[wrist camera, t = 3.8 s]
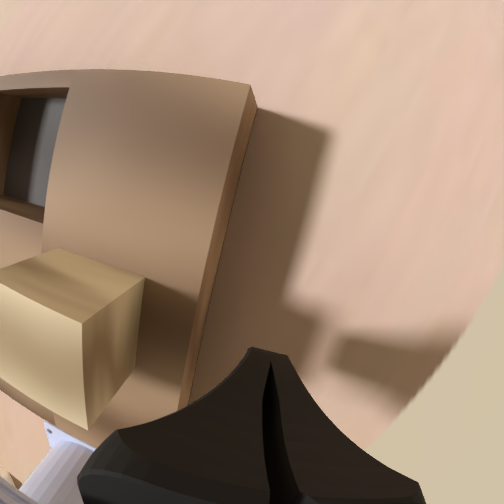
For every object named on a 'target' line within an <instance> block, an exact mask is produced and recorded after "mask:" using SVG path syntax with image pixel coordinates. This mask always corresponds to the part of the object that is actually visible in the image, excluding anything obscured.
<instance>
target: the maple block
mask: <svg viewBox="0 0 504 504" xmlns="http://www.w3.org/2000/svg"><path fill="white" fill-rule="evenodd" d="M144 282H145V277H143V276H140V275H136V274H133V273H130V272H127V271H124V270H121V269H118V268H115V267H112V266H109V265H106V264H103V263H100V262H97V261H94V260H91V259H89V258H86V257H83V256H80V255H77V254H74V253H72V252H69V251H66V250H63V249H60V248H57V249H54V250H51V251H48V252H45V253H43V254H40V255H37V256H34V257H31V258H29V259H26V260H23V261H20V262H18V263H15V264H12V265H9V266H7V267H4V268H2V269H0V377H1V378H2V379H3V380H5V381H6V382H7V383H9V384H10V385H12V386H13V387H15V388H16V389H18V390H19V391H20V392H22V393H24V394H25V395H27V396H28V397H30V398H31V399H33V400H34V401H36V402H38V403H39V404H41V405H43V406H44V407H46V408H48V409H49V410H51V411H53V412H54V413H56V414H58V415H60V416H62V417H63V418H65V419H67V420H69V421H71V422H73V423H74V424H76V425H78V426H80V427H82V428H84V429H86V430H89V429H90V427H91V426H92V425H93V423H94V422H95V421H96V419H97V418H98V417H99V415H100V414H101V413H102V411H103V410H104V409H105V407H106V406H107V405H108V403H109V402H110V401H111V399H112V398H113V397H114V395H115V394H116V393H117V391H118V390H119V389H120V387H121V386H122V385H123V384H124V382H125V381H126V380H127V378H128V377H129V376H130V374H131V373H132V372H133V370H134V369H135V364H136V352H137V341H138V331H139V322H140V313H141V305H142V297H143V289H144Z"/></svg>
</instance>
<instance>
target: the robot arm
mask: <svg viewBox="0 0 504 504" xmlns="http://www.w3.org/2000/svg"><path fill="white" fill-rule="evenodd" d="M44 426H45V430H46V434H47V437H48V441H49V444H50V448H51V450H50V451H49V452H48V453H47V455H46V456H45V457H44V458H43V460H42V461H41V462H40V463H39V465H38V466H37V467H36V468H35V470H34V471H33V472H32V473H31V475H30V476H29V477H28V479H27V480H26V481H25V482H24V484H23V485H22V486H21V488H20V489H19V490H18V489H17V488H15V487H14V486H13V485H11V484H10V483H9V482H7V481H6V480H5V479H3V478H2V477H1V476H0V504H426V502H425V499H424V496H423V494H422V491H421V488H420V486H419V483H418V482H416V481H414V480H412V479H410V478H408V477H406V476H404V475H402V474H400V473H398V472H396V471H394V470H392V469H391V468H389V467H387V466H385V465H384V464H382V463H381V462H379V461H378V460H376V459H375V458H373V457H372V456H370V455H369V454H367V453H366V452H365V451H363V450H362V449H361V448H360V447H358V446H357V445H356V444H355V443H354V442H352V441H351V440H350V439H349V438H348V437H347V436H345V435H344V434H343V433H342V432H341V431H340V430H339V429H338V428H337V427H336V426H335V425H334V424H333V422H332V421H331V420H330V419H329V418H328V417H327V416H326V415H325V414H324V412H323V411H322V410H321V409H320V407H319V406H318V405H317V403H316V402H315V401H314V399H313V398H312V397H311V395H310V394H309V392H308V391H307V389H306V387H305V386H304V384H303V383H302V381H301V379H300V378H299V376H298V374H297V372H296V370H295V369H294V367H293V365H292V363H291V361H290V360H289V358H288V356H287V355H283V354H278V353H274V352H270V351H266V350H262V349H258V348H254V347H251V348H249V349H248V350H247V353H246V355H245V357H244V358H243V359H242V361H241V362H240V363H239V365H238V366H237V367H236V368H235V369H234V370H233V371H232V373H231V374H230V375H229V376H228V377H226V378H225V379H224V380H223V381H222V382H221V383H220V384H219V385H218V386H216V387H215V388H214V389H213V390H211V391H210V392H209V393H207V394H206V395H204V396H203V397H201V398H200V399H198V400H197V401H195V402H193V403H191V404H190V405H188V406H186V407H184V408H182V409H180V410H178V411H176V412H174V413H171V414H169V415H166V416H164V417H161V418H159V419H156V420H153V421H150V422H147V423H144V424H140V425H136V426H132V427H127V428H122V429H117V430H115V431H114V432H113V433H111V434H110V435H109V436H108V437H107V438H106V439H105V440H104V441H103V442H102V443H101V444H100V445H99V446H98V447H97V448H96V447H94V446H92V445H90V444H88V443H86V442H84V441H82V440H80V439H78V438H76V437H75V436H73V435H71V434H69V433H67V432H65V431H63V430H62V429H60V428H58V427H56V426H55V425H53V424H51V423H50V422H48V421H45V422H44Z"/></svg>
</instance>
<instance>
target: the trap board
mask: <svg viewBox="0 0 504 504" xmlns="http://www.w3.org/2000/svg"><path fill="white" fill-rule="evenodd" d="M256 111H257V104H256V101H255V97H254V94H253V91H252V88H251V85H249V84H244V83H238V82H232V81H227V80H220V79H214V78H207V77H200V76H192V75H184V74H174V73H164V72H152V71H136V70H102V69H91V70H59V71H44V72H32V73H22V74H14V75H6V76H0V269H2V268H4V267H7V266H9V265H12V264H15V263H18V262H20V261H23V260H26V259H29V258H31V257H34V256H37V255H40V254H43V253H45V252H48V251H51V250H54V249H57V248H60V249H63V250H66V251H69V252H72V253H74V254H77V255H80V256H83V257H86V258H89V259H91V260H94V261H97V262H100V263H103V264H106V265H109V266H112V267H115V268H118V269H121V270H124V271H127V272H130V273H133V274H136V275H140V276H143V277H145V282H144V289H143V297H142V305H141V313H140V322H139V331H138V341H137V352H136V364H135V369H134V370H133V372H132V373H131V374H130V376H129V377H128V378H127V380H126V381H125V382H124V384H123V385H122V386H121V387H120V389H119V390H118V391H117V393H116V394H115V395H114V397H113V398H112V399H111V401H110V402H109V403H108V405H107V406H106V407H105V409H104V410H103V411H102V413H101V414H100V415H99V417H98V418H97V419H96V421H95V422H94V423H93V425H92V426H91V427H90V429H89V430H86V429H84V428H82V427H80V426H78V425H76V424H74V423H73V422H71V421H69V420H67V419H65V418H63V417H62V416H60V415H58V414H56V413H54V412H53V411H51V410H49V409H48V408H46V407H44V406H43V405H41V404H39V403H38V402H36V401H34V400H33V399H31V398H30V397H28V396H27V395H25V394H24V393H22V392H20V391H19V390H18V389H16V388H15V387H13V386H12V385H10V384H9V383H7V382H6V381H5V380H3V379H2V378H1V377H0V390H1V391H3V392H4V393H5V394H7V395H8V396H10V397H11V398H12V399H14V400H15V401H17V402H18V403H20V404H21V405H23V406H24V407H26V408H27V409H29V410H30V411H32V412H33V413H35V414H36V415H38V416H40V417H41V418H43V419H45V420H46V421H48V422H50V423H51V424H53V425H55V426H56V427H58V428H60V429H62V430H63V431H65V432H67V433H69V434H71V435H73V436H75V437H76V438H78V439H80V440H82V441H84V442H86V443H88V444H90V445H92V446H94V447H96V448H97V447H98V446H99V445H100V444H101V443H102V442H103V441H104V440H105V439H106V438H107V437H108V436H109V435H110V434H111V433H113V432H114V431H115V430H117V429H122V428H127V427H132V426H136V425H140V424H144V423H147V422H150V421H153V420H156V419H159V418H161V417H164V416H166V415H169V414H171V413H174V412H176V411H178V410H180V409H182V408H184V407H186V406H188V402H189V397H190V392H191V387H192V382H193V377H194V372H195V368H196V363H197V358H198V353H199V348H200V344H201V339H202V334H203V330H204V325H205V320H206V316H207V311H208V307H209V302H210V298H211V293H212V289H213V284H214V280H215V276H216V271H217V267H218V262H219V258H220V254H221V250H222V245H223V241H224V237H225V233H226V229H227V224H228V220H229V216H230V212H231V208H232V204H233V200H234V196H235V192H236V188H237V184H238V180H239V176H240V172H241V168H242V164H243V160H244V156H245V152H246V149H247V145H248V141H249V137H250V133H251V130H252V126H253V122H254V118H255V115H256Z"/></svg>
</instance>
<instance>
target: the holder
mask: <svg viewBox="0 0 504 504" xmlns="http://www.w3.org/2000/svg"><path fill="white" fill-rule="evenodd" d="M0 476H1V477H2V478H3V479H5V480H6V481H7V482H9V483H10V484H11V485H13V486H14V487H15V485H14V482H13V480H12V478H11V475H10V473H9V472H8V471H7V470H5V469H4V468H3V467H2V466H1V465H0ZM15 488H16V487H15Z"/></svg>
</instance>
